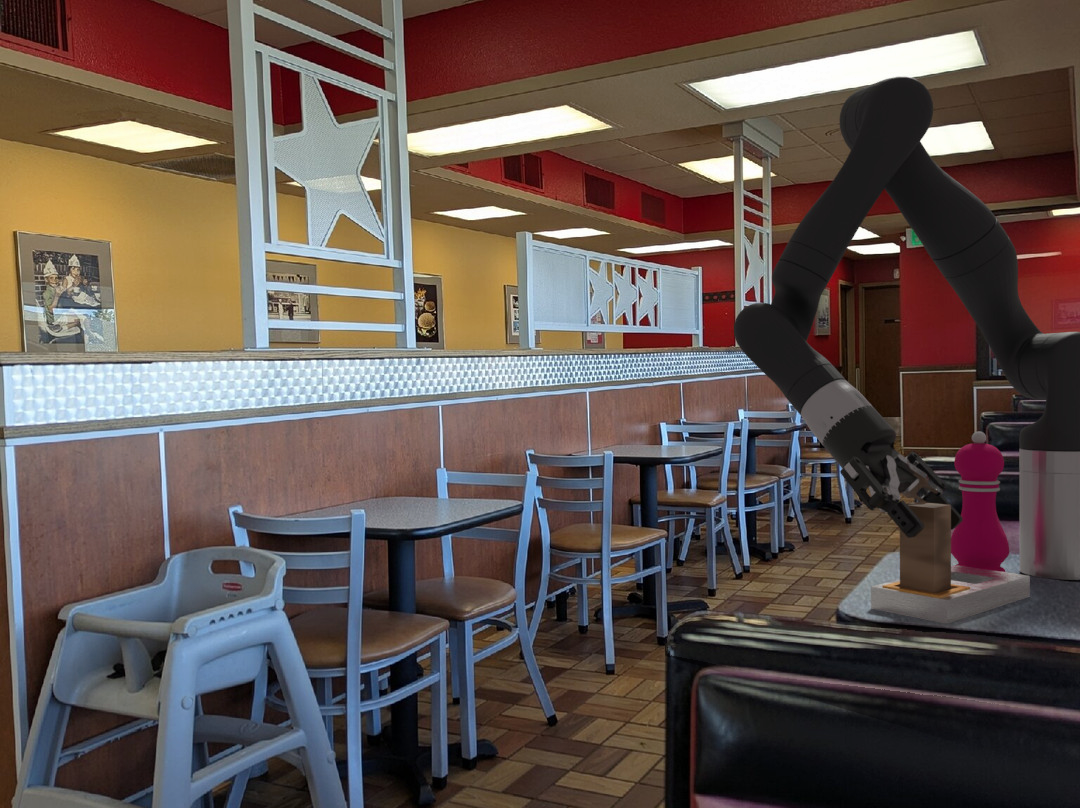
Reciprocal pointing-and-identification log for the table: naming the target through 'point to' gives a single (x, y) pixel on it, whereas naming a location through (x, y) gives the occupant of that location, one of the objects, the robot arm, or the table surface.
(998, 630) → the table surface
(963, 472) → the pepper mill
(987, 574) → the white socket base
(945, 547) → the peg
